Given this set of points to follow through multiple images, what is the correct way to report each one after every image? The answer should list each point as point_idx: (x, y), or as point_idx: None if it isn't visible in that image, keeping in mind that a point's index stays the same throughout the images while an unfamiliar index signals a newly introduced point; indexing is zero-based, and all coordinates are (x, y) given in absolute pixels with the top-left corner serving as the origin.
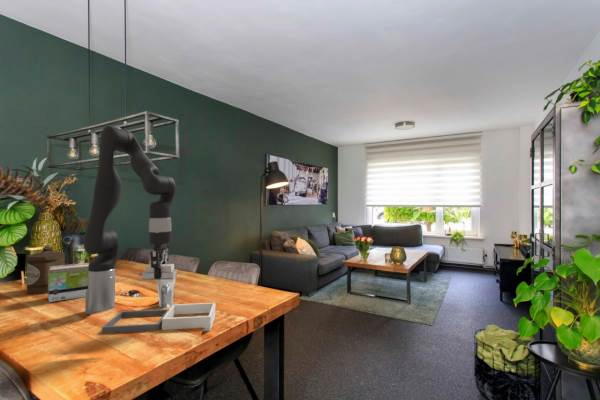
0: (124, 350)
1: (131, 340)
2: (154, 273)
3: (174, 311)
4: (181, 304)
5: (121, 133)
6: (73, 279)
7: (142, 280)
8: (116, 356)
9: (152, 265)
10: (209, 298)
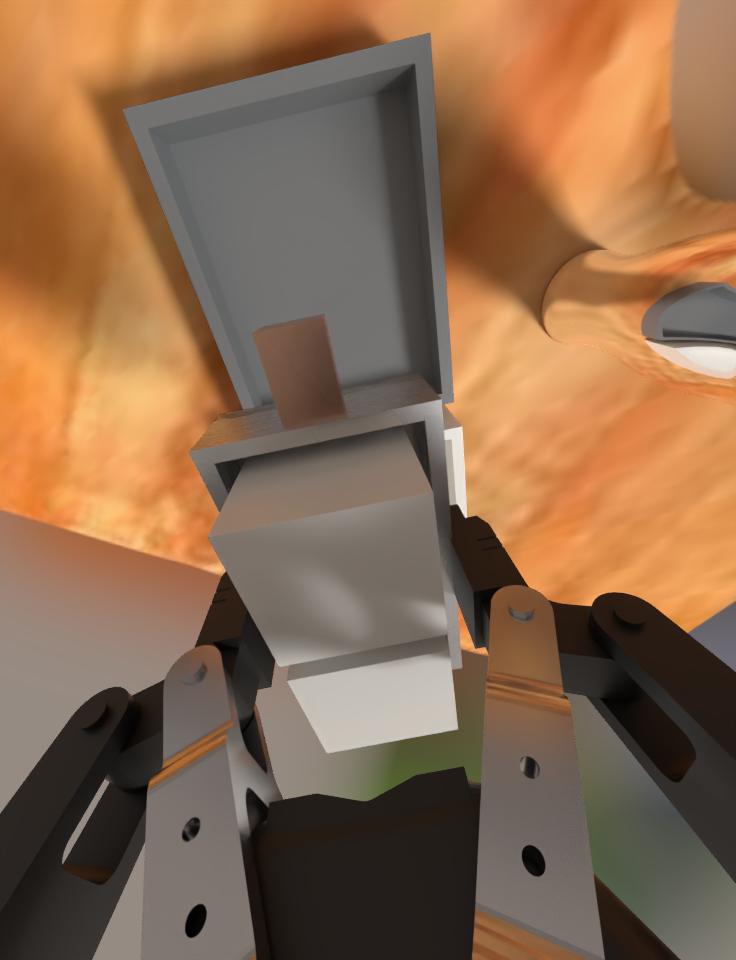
0: (95, 372)
1: (180, 345)
2: (232, 590)
3: None
4: (459, 466)
5: None
6: None
7: (220, 415)
8: (43, 371)
9: (66, 751)
10: (673, 461)
